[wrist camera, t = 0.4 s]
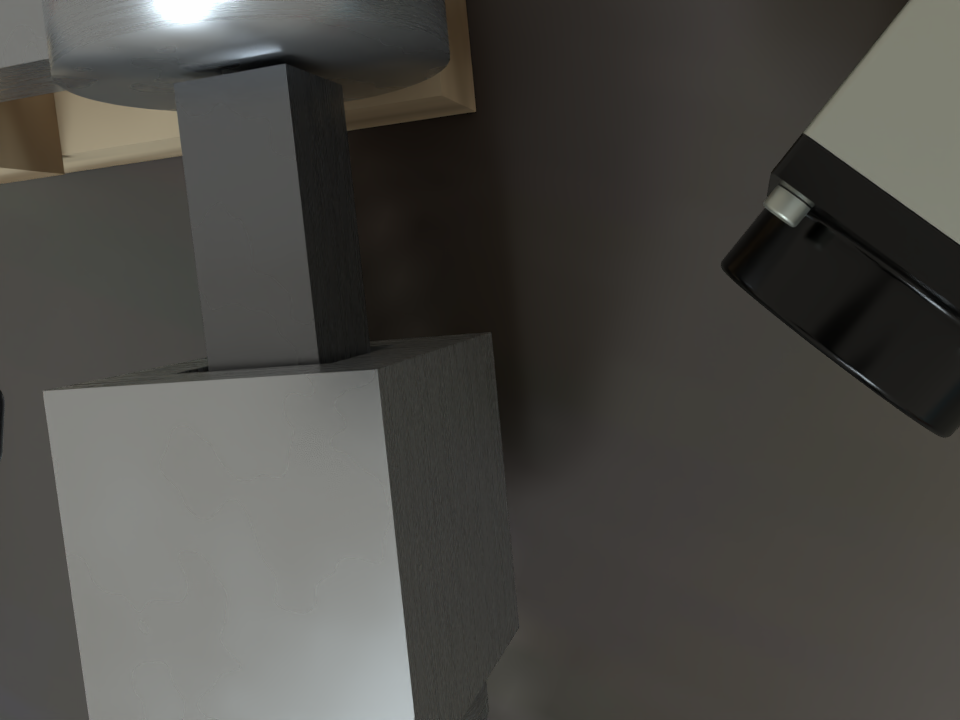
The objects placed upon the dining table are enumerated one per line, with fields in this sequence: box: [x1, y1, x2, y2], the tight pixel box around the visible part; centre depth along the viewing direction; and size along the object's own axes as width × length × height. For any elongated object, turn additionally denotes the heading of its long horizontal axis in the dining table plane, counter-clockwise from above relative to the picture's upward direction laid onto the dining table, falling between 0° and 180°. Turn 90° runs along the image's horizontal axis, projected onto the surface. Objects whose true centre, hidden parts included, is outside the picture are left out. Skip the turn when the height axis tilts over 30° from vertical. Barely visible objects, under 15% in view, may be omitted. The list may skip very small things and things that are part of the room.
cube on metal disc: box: [43, 332, 519, 720], centre depth 19 cm, size 8×7×7 cm
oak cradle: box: [0, 0, 476, 184], centre depth 24 cm, size 7×20×5 cm, turn 96°
